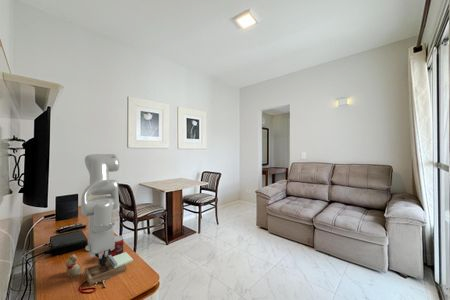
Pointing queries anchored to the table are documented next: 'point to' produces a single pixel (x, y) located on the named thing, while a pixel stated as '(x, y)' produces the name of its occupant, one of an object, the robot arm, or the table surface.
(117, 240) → the canned food
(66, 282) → the table surface
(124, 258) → the lid
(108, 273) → the compartment box
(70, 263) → the chocolate bunny
